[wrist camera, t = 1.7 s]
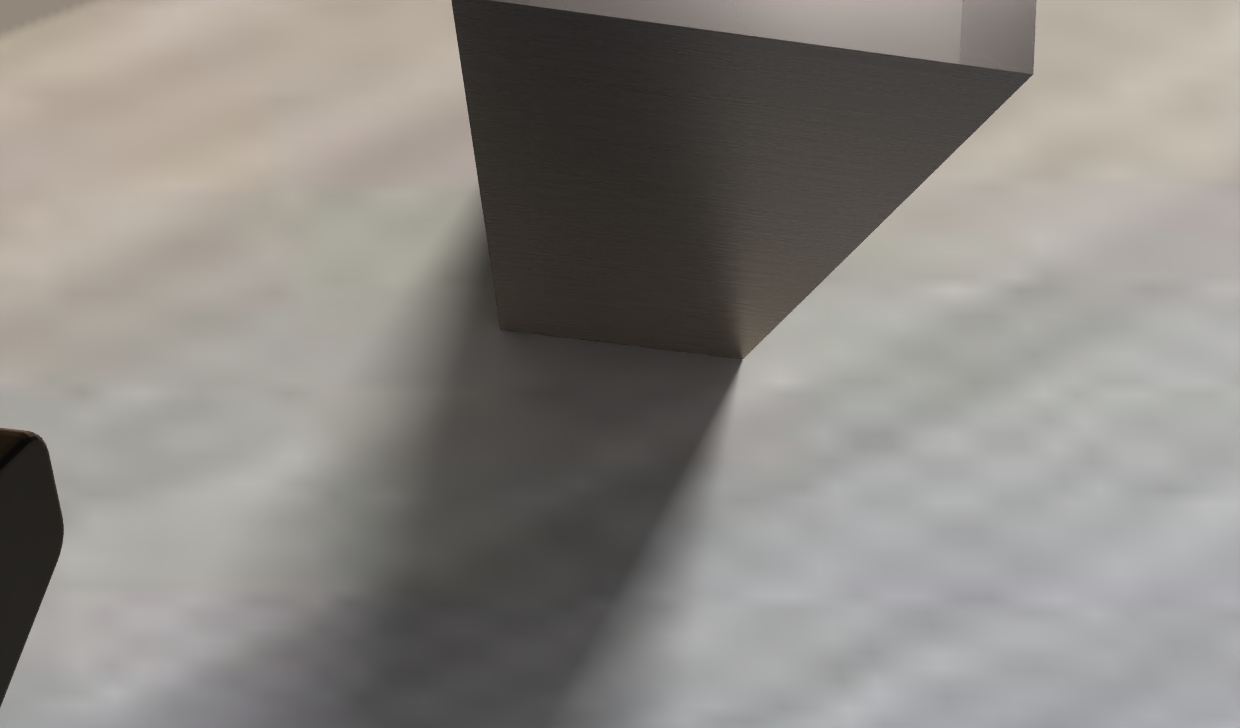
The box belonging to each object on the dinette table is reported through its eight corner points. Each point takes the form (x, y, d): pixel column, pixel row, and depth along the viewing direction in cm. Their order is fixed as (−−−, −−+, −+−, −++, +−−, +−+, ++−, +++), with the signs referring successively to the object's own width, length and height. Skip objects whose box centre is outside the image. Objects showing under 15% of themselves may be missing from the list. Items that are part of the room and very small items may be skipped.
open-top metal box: (743, 359, 21) (1034, 74, 9) (500, 329, 21) (450, -5, 9) (763, 130, 22) (1053, -421, 10) (530, 99, 22) (525, -506, 9)
